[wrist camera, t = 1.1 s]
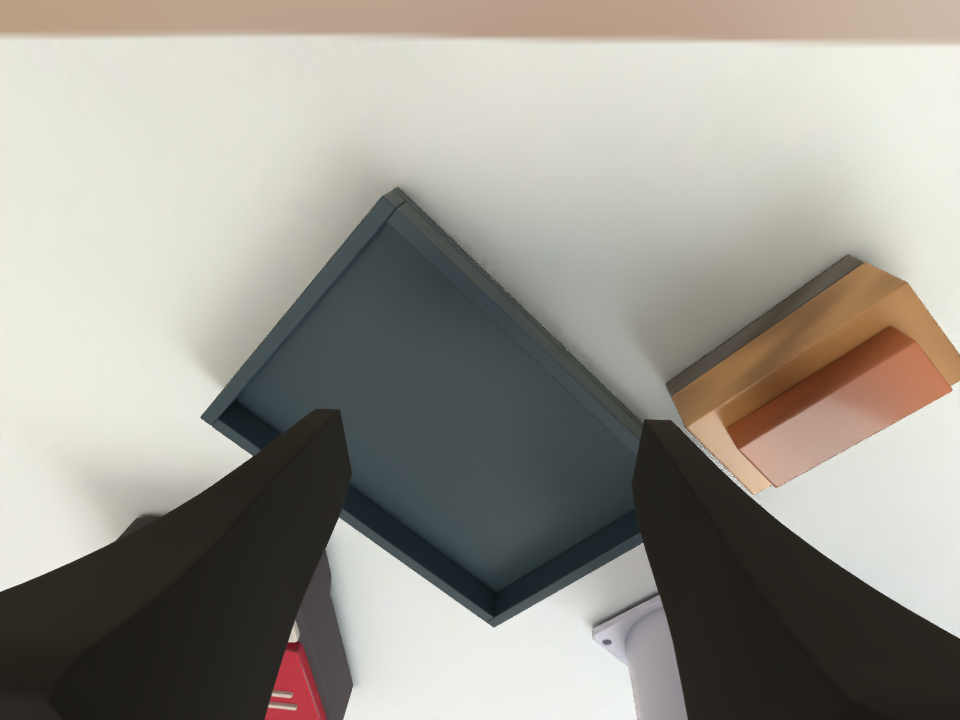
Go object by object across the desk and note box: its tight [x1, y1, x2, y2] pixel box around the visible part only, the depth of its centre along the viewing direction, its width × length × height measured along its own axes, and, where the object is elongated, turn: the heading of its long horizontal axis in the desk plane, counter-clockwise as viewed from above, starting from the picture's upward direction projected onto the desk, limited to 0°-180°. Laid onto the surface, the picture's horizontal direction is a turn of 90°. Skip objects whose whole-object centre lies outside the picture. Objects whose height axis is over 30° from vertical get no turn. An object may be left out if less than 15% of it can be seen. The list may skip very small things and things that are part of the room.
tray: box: [201, 187, 643, 627], centre depth 22 cm, size 18×13×2 cm
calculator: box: [116, 518, 353, 720], centre depth 29 cm, size 11×4×15 cm
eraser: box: [666, 255, 960, 495], centre depth 18 cm, size 8×4×4 cm, turn 137°
